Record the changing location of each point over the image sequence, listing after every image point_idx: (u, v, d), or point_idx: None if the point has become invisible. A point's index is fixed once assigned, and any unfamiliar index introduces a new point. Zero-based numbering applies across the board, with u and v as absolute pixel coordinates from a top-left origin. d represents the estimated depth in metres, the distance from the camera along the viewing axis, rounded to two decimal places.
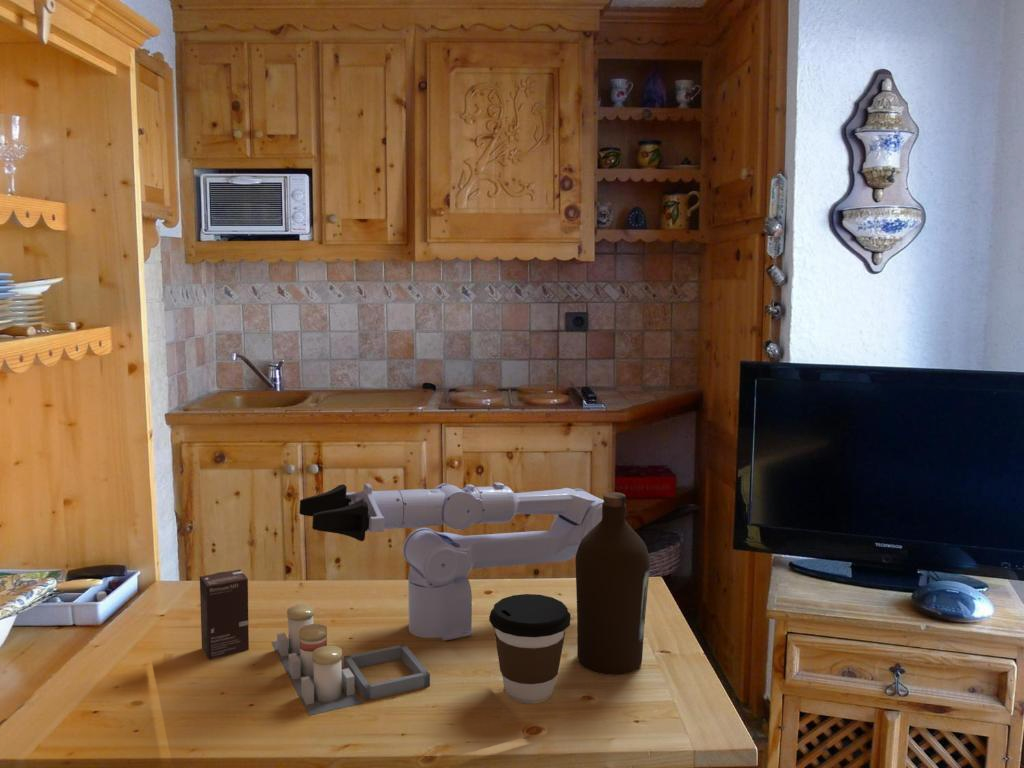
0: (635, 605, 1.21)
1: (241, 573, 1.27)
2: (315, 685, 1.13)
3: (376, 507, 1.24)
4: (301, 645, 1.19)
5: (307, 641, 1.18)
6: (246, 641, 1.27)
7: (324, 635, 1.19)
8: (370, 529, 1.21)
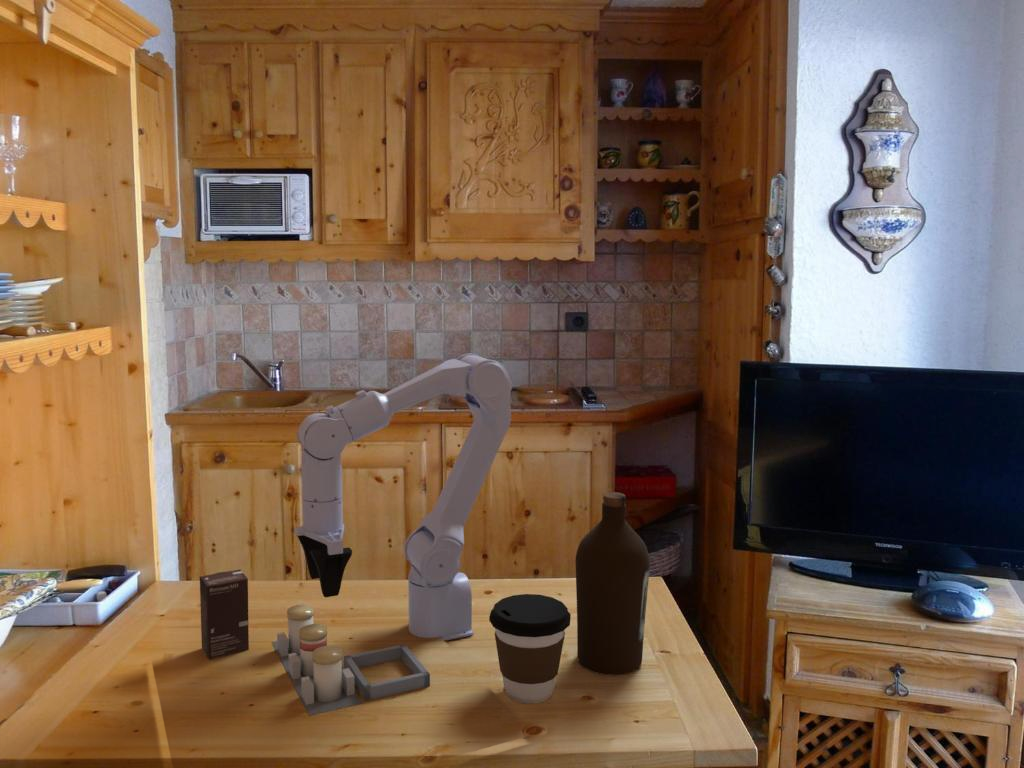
0: (635, 605, 1.21)
1: (241, 573, 1.27)
2: (315, 685, 1.13)
3: (318, 538, 1.22)
4: (301, 645, 1.19)
5: (307, 641, 1.18)
6: (246, 641, 1.27)
7: (324, 635, 1.19)
8: None
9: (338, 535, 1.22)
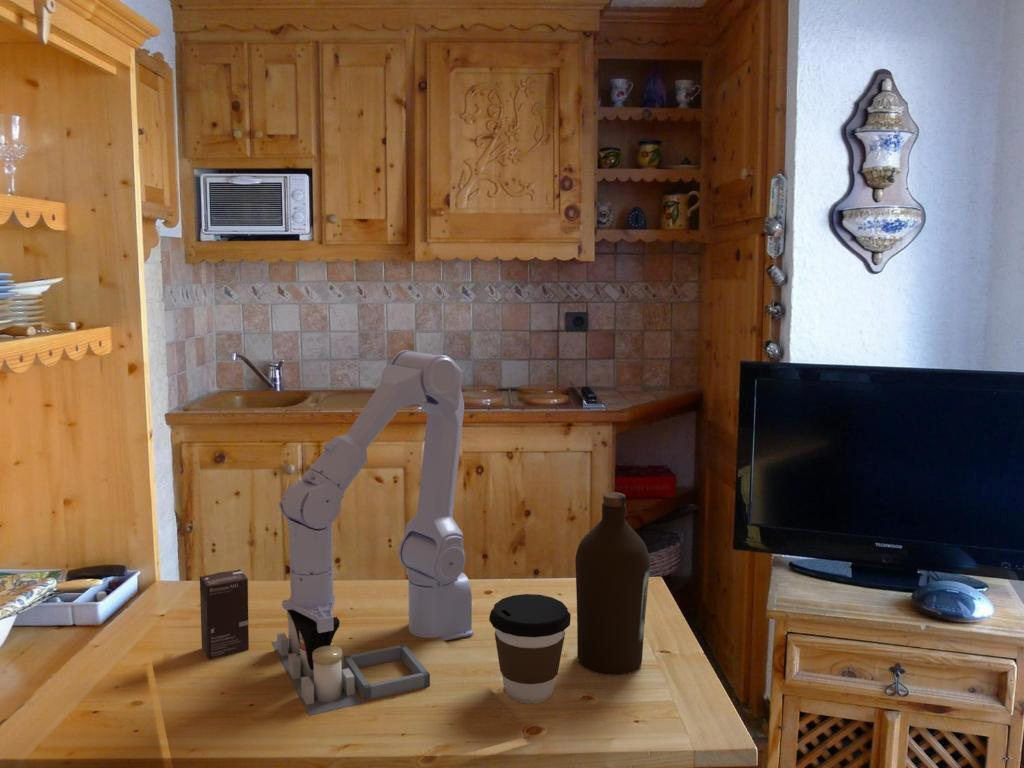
0: (635, 605, 1.21)
1: (241, 573, 1.27)
2: (315, 685, 1.13)
3: (307, 613, 1.15)
4: (301, 645, 1.19)
5: None
6: (246, 641, 1.27)
7: None
8: None
9: (328, 610, 1.16)
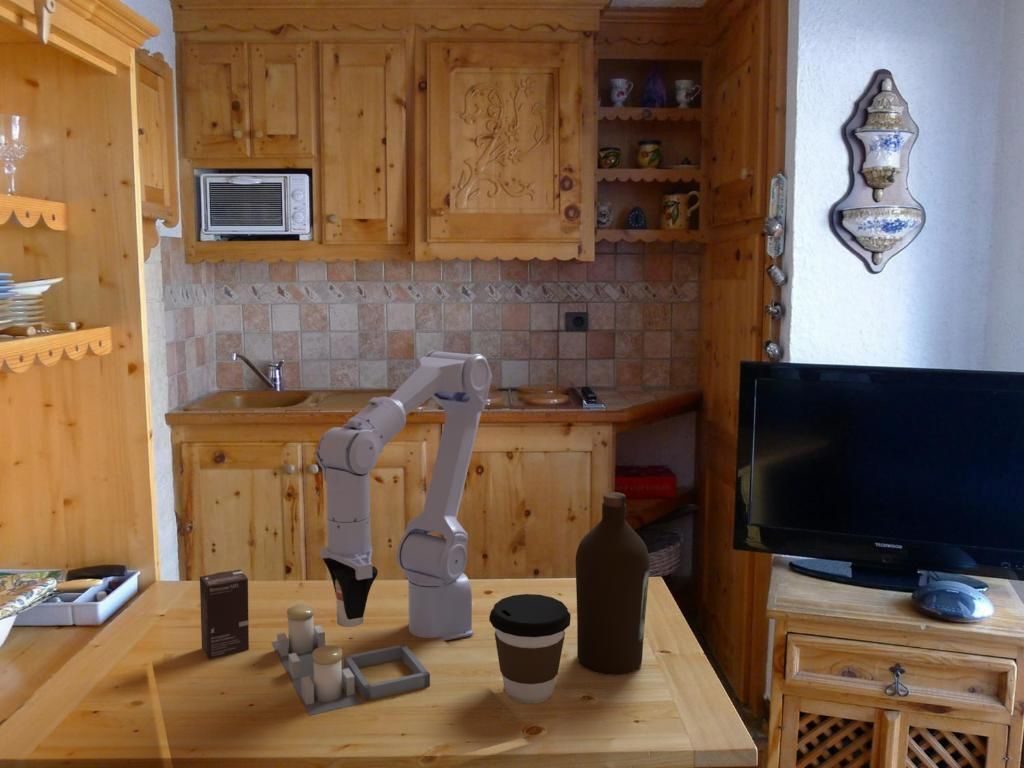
0: (635, 605, 1.21)
1: (241, 573, 1.27)
2: (315, 685, 1.13)
3: (345, 561, 1.13)
4: (337, 594, 1.17)
5: None
6: (246, 641, 1.27)
7: None
8: None
9: (366, 558, 1.14)
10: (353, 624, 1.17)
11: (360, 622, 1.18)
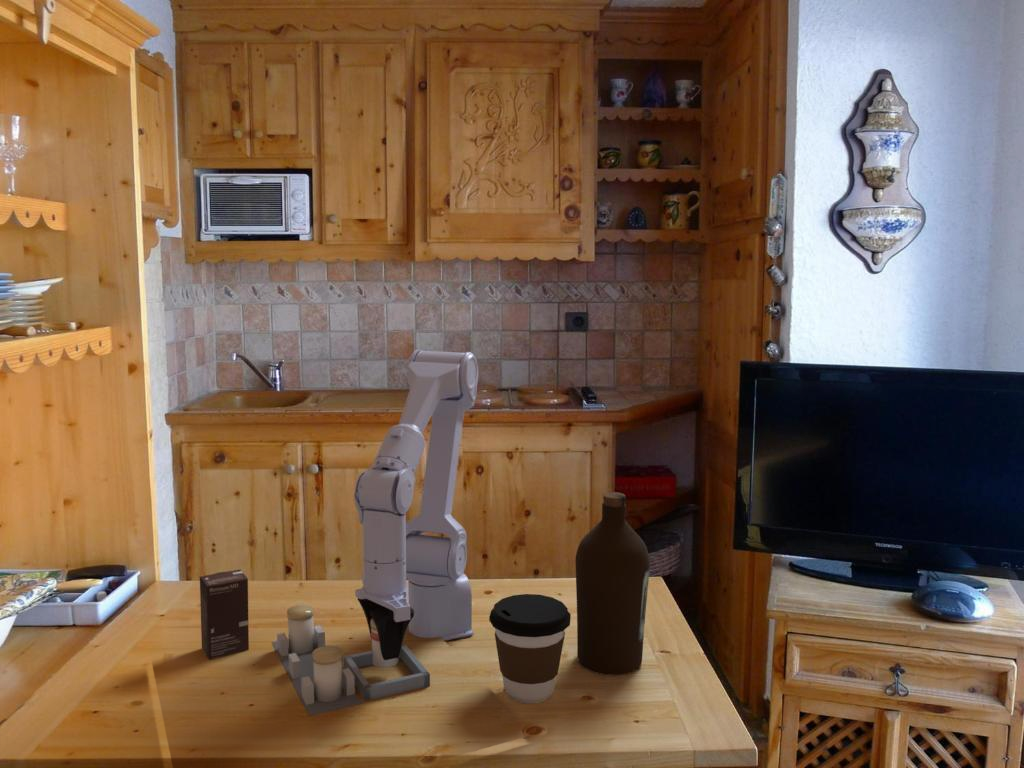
0: (635, 605, 1.21)
1: (241, 573, 1.27)
2: (315, 685, 1.13)
3: (383, 602, 1.13)
4: (373, 635, 1.17)
5: None
6: (246, 641, 1.27)
7: None
8: None
9: (404, 599, 1.14)
10: (388, 664, 1.17)
11: (395, 662, 1.18)
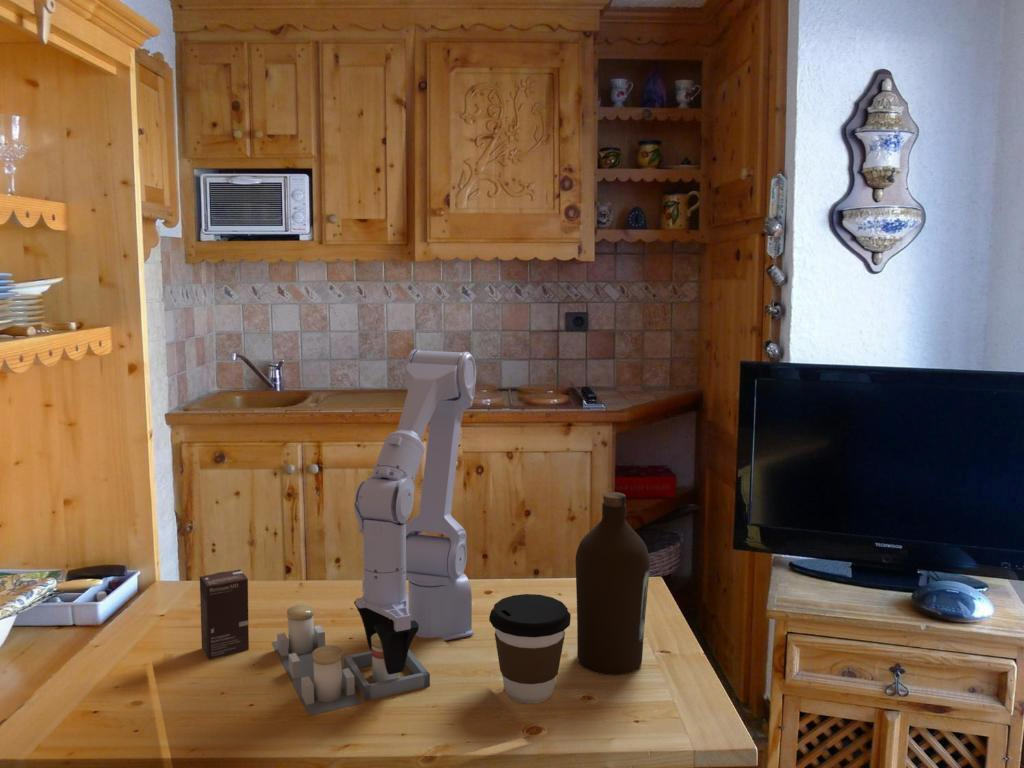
0: (635, 605, 1.21)
1: (241, 573, 1.27)
2: (315, 685, 1.13)
3: (383, 612, 1.13)
4: (373, 652, 1.18)
5: (379, 648, 1.17)
6: (246, 641, 1.27)
7: None
8: None
9: (404, 608, 1.14)
10: None
11: None
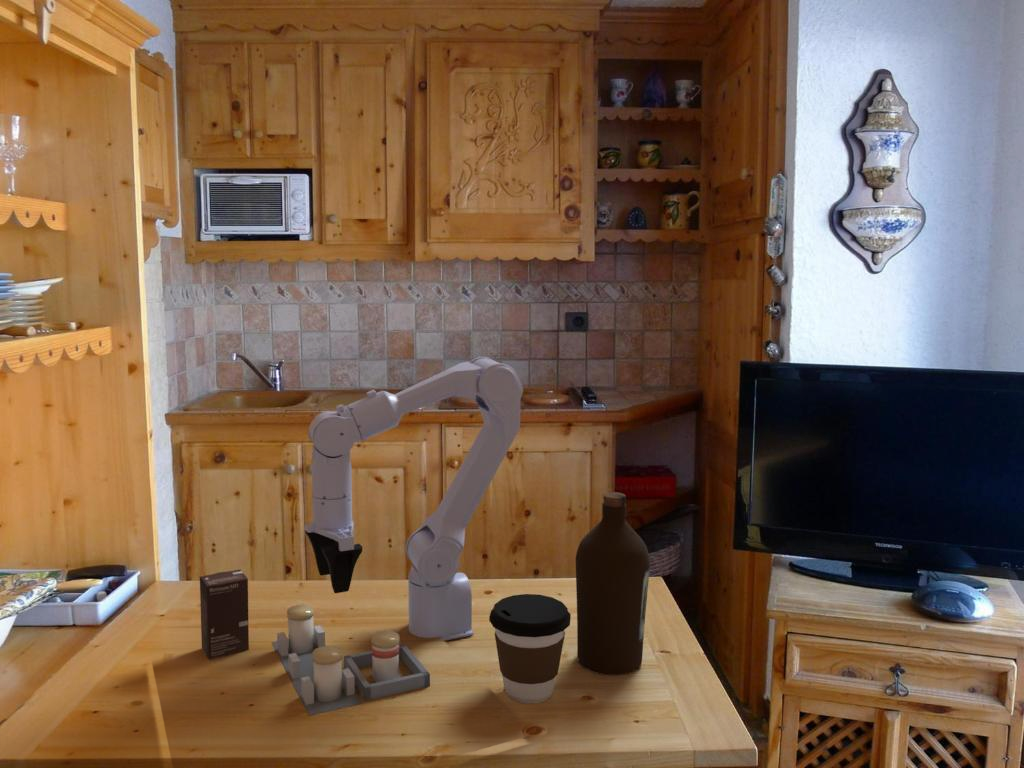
0: (635, 605, 1.21)
1: (241, 573, 1.27)
2: (315, 685, 1.13)
3: (329, 534, 1.23)
4: (373, 651, 1.18)
5: (380, 648, 1.17)
6: (246, 641, 1.27)
7: (397, 642, 1.18)
8: None
9: (348, 532, 1.24)
10: None
11: None
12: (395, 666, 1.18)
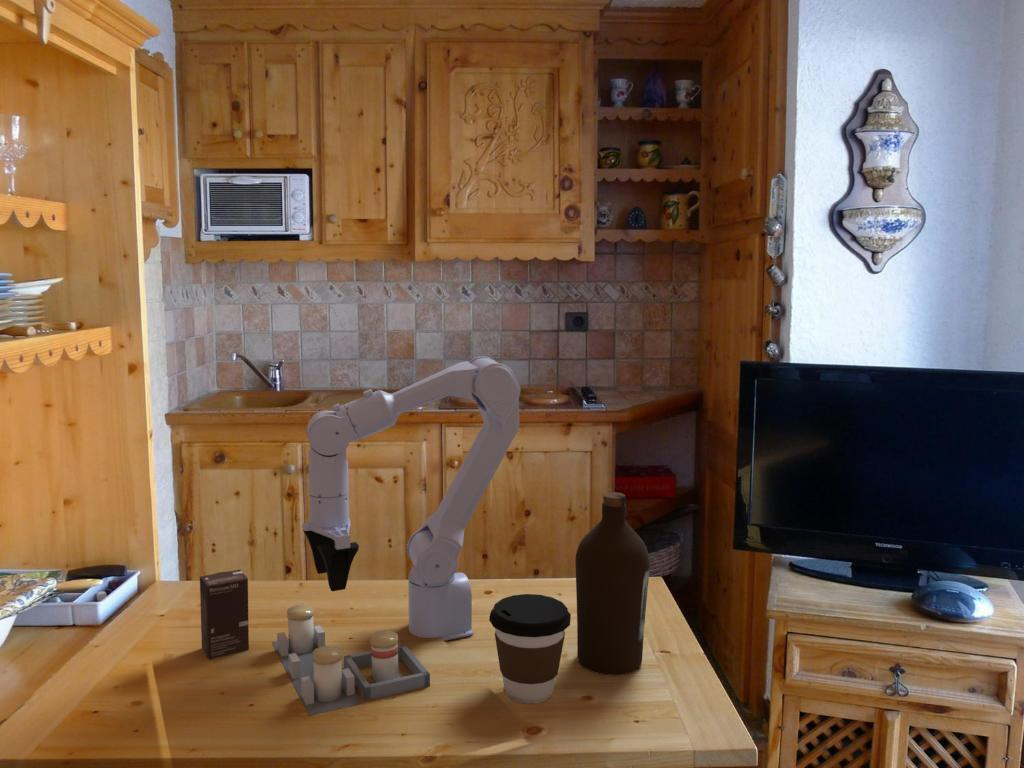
0: (635, 605, 1.21)
1: (241, 573, 1.27)
2: (315, 685, 1.13)
3: (325, 533, 1.24)
4: (372, 652, 1.18)
5: (378, 648, 1.17)
6: (246, 641, 1.27)
7: (395, 642, 1.18)
8: None
9: (345, 530, 1.25)
10: None
11: None
12: (395, 666, 1.18)
